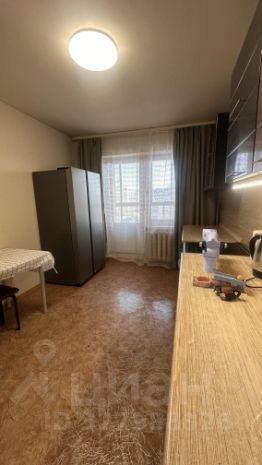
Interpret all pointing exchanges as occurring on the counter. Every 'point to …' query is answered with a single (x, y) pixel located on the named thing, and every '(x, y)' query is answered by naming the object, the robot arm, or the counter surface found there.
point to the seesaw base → (220, 282)
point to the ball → (240, 278)
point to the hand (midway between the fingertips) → (213, 251)
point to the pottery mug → (228, 292)
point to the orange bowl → (203, 281)
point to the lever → (228, 278)
